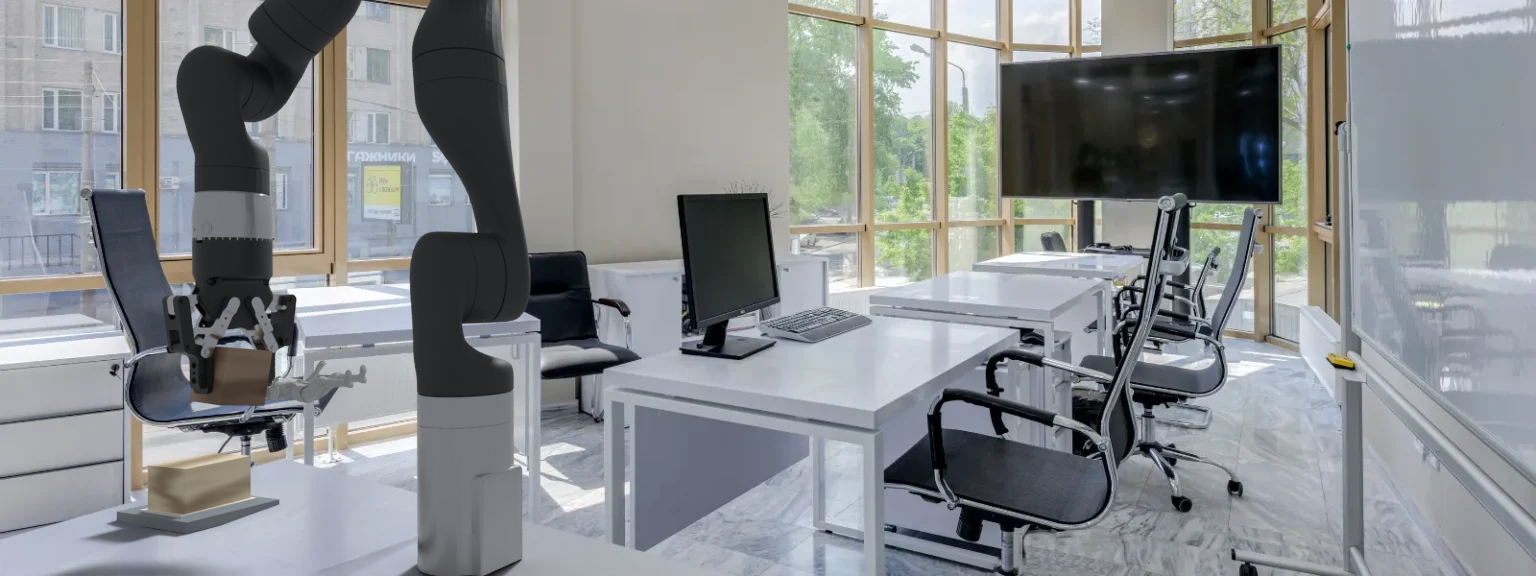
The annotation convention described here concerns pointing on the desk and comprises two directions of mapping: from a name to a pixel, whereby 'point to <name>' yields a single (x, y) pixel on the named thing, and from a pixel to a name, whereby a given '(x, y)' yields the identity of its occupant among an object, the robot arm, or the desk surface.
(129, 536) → the desk surface
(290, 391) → the soldier figure
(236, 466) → the maple block
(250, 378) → the walnut cube
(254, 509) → the board
